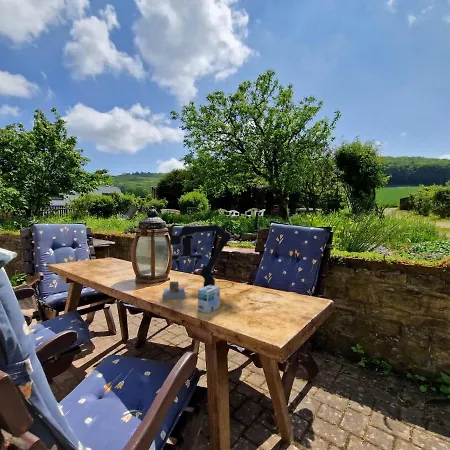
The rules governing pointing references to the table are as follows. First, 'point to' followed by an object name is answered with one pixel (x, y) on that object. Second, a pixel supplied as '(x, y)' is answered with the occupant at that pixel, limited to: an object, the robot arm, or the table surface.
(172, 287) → the walnut cube
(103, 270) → the table surface
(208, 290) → the light bulb box
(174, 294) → the slate block
